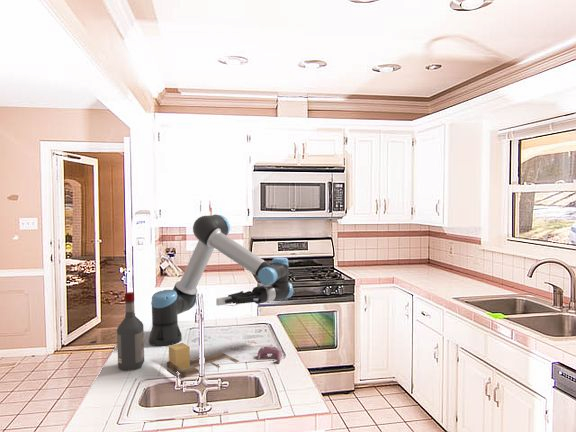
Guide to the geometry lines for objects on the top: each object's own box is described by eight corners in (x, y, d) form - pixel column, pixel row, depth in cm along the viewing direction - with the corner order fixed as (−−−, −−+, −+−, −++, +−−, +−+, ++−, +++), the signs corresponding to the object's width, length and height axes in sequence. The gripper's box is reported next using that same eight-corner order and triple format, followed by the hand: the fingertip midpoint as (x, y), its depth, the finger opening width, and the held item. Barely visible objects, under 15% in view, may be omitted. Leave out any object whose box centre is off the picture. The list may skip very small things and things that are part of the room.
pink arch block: (281, 364, 184) (281, 347, 187) (280, 363, 180) (280, 345, 182) (257, 364, 185) (258, 346, 188) (256, 362, 181) (257, 345, 183)
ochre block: (169, 366, 175) (168, 346, 175) (183, 362, 179) (182, 342, 179) (175, 370, 171) (175, 350, 170) (189, 366, 175) (189, 346, 174)
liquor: (145, 361, 185) (143, 290, 183) (140, 370, 176) (138, 295, 174) (122, 362, 184) (120, 291, 182) (116, 371, 175) (114, 296, 173)
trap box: (167, 370, 175) (166, 362, 174) (221, 355, 191) (221, 347, 190) (183, 381, 164) (183, 372, 164) (239, 364, 180) (239, 356, 180)
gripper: (271, 305, 194) (225, 314, 179) (254, 299, 204) (209, 307, 189) (272, 288, 194) (225, 296, 179) (254, 283, 204) (209, 290, 189)
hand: (217, 302), depth 184 cm, fingers closed
